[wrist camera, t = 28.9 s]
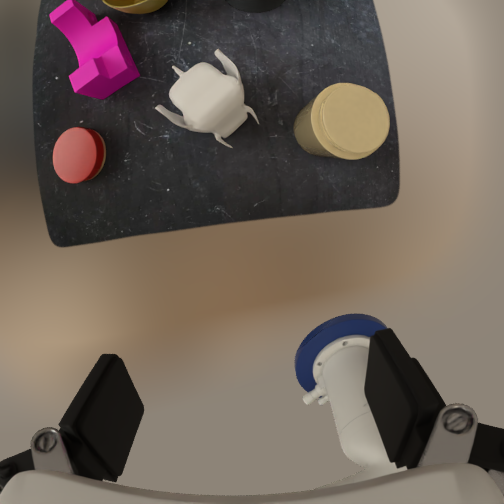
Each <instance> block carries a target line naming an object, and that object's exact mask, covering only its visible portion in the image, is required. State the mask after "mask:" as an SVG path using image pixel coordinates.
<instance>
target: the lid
mask: <svg viewBox="0 0 504 504" xmlns="http://www.w3.org/2000/svg"><path fill="white" fill-rule="evenodd" d="M103 159H104V146H103V142H102V140H101V138H100V136H99V135H98V134H97V133H96V132H95V131H94V130H92V129H89V128H84V127H75V128H71V129H68V130H67V131H65V132H64V133H63V134H62V135H61V136H60V137H59V138H58V140H57V142H56V144H55V147H54V151H53V164H54V168H55V171H56V173H57V174H58V176H59V177H60V178H61V179H62V180H64V181H65V182H68V183H79V182H83V181H87V180H89V179H91V178H92V177H94V176H95V175H96V174H97V172H98V171H99V170H100V168H101V166H102V163H103Z"/></svg>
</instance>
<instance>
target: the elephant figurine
mask: <svg viewBox="0 0 504 504" xmlns="http://www.w3.org/2000/svg"><path fill="white" fill-rule="evenodd" d="M215 55H216V57H217V58H218V59H219V60H220V61H221V62H222V64H223V66H224V69H225V71H226V73H227V75H224V74H222V73H221V72H220V71H219V70H217V69H216V68H215V67H213V66H212V65H210V64H208V63H205V62H202V63H198V64H196V65H195V66H193V67H192V68H191V69H189V70H188V71H187V72H182V71H181V70H180V69H178V68H176V67H175V66H172V68H173V69H174V70H175V72H176V73H177V74H178V75H179V76H180V78H179V80H178V81H177V82H176V83H175V84H174V85H173V86H172V88H171V89H170V92H169V97H170V99H171V101H172V102H173V104H174V105H175V106H176V107H177V108H179V109H180V110H181V111H182V113H183V117H182V116H180V115H177V114H175V113H173V112H170V111H168V110H167V109H166V108H164V107H163V106H162V105H158V106H156V107H155V109H156V110H158V111H159V112H161V113H162V114H163V115H165V116H166V117H167V118H168V119H169V120H170V121H171V122H173V123H174V124H176V125H178V126H180V127H183V128H187V129H189V130H191V131H195V132H205V133H208V132H212V133H213V134H214V135H215V138H216V139H217V140H218V141H219V142H221V143H222V144H224V145H226V146H228V147H231V146H230V145H229V144H227V143H226V142H224V141H223V140H222V139H221V136H222V137H223V138H226V137H228V136H229V135H231V134H232V133H233V132H234V131H235V130H236V129H237V128H238V127H239V126H240V125H241V124H242V123H244V121H245V120H246V119H247V117H248V115H247V112H249V113H251V114H252V115H253V117H254V118H255V119H256V121H257V123H258V124H259V122H258V119H257V117H256V115H255V113H254V111H253V110H252V108H250V107H248V106H245V104H244V88H243V84H242V82H241V78H240V74H239V72H238V69H237V68H236V66H235V65H234V63H233V62H232V61H231V60H229V59H228V58H227V57H226V56H225V55H224V54H223V53H222V52H221V51H220V50H219V49H217V50H216V51H215ZM231 148H232V147H231Z"/></svg>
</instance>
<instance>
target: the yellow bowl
mask: <svg viewBox="0 0 504 504" xmlns="http://www.w3.org/2000/svg"><path fill="white" fill-rule="evenodd" d="M102 1H103V2H104V3H105V4H107V5H108V6H110V7H112V8H114V9H116V10H119V11H122V12H126V13H133V14H144V13H150V12H153V11H156V10H158V9H160V8H161V7H162V6H163V5H165V4H166V2H167V1H168V0H102Z"/></svg>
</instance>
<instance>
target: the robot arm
mask: <svg viewBox="0 0 504 504" xmlns="http://www.w3.org/2000/svg"><path fill="white" fill-rule="evenodd" d="M313 376H314V379H315V381H316V383H317V385H316V386H315V389H314V390H312V391H310V392H308V393H307V394H306V395H304V396H303V397H302V398H303V401H304V402H305V403H306V404H307V405H309V404H310V403H312V402H313V401H315V400H316V399H317V398H318V397H320V396H322V397H321V398H320V399H318V403H319V404H320V405H323V404H325V403H326V402H328V400H329V401H330V405H331V408H332V412H333V416H334V420H335V424H336V428H337V432H338V436H339V440H340V444H341V447H342V450H343V452H344V453H345V455H346V456H347V457H348V458H349V459H350V460H351V461H353V462H355V463H356V464H358V465H360V466H363V467H365V468H366V469H364V470H363V471H361V472H358V473H356V474H355V475H352V476H350V477H347V478H345V479H342V480H339V481H336V482H333V483H331V484H328V485H325V486H322V487H319V488H316V489H314V490H310V491H301V492H292V493H283V494H268V495H249V496H248V495H246V496H214V495H193V494H180V493H170V492H160V491H153V490H146V489H140V488H134V487H128V486H122V485H118V484H113V483H108V482H103V481H102V480H103V479H104V480H108V481H112V482H116V481H117V478H118V476H121V475H122V473H123V470H124V467H125V464H126V461H127V458H128V455H129V452H130V449H131V447H132V444H133V441H134V438H135V435H136V432H137V430H138V427H139V424H140V421H141V419H142V416H143V413H144V405H143V403H142V401H141V399H140V397H139V395H138V393H137V391H136V389H135V387H134V385H133V382H132V380H131V378H130V376H129V374H128V371H127V369H126V367H125V365H124V362H123V360H122V359H121V358H119V357H118V356H117V355H116V354H102V355H101V356H100V358H99V360H98V361H97V363H96V364H95V366H94V367H93V369H92V370H91V372H90V374H89V375H88V377H87V378H86V380H85V381H84V383H83V385H82V386H81V388H80V389H79V391H78V393H77V394H76V396H75V398H74V399H73V401H72V403H71V404H70V406H69V408H68V409H67V411H66V413H65V414H64V416H63V418H62V419H61V421H60V423H59V426H60V427H61V428H60V430H59V431H58V430H57V429H55V428H52V427H51V428H50V427H47V428H43V429H41V430H39V431H38V432H37V433H35V435H34V436H33V437H32V440H31V449H29V450H27V451H25V452H22V453H19V454H17V455H15V456H12V457H9V458H7V459H5V460H3V461H1V462H0V504H504V429H502V428H497V427H493V426H489V425H485V424H481V423H478V418H477V415H476V413H475V411H474V410H473V409H472V408H470V407H469V406H467V405H464V404H459V403H458V404H457V403H455V404H450V405H448V406H446V404H445V403H444V401H443V399H442V398H441V396H440V394H439V393H438V391H437V390H436V388H435V387H434V385H433V384H432V382H431V380H430V379H429V377H428V376H427V374H426V373H425V371H424V370H423V368H422V367H421V365H420V363H419V362H418V361H417V359H415V358H411V357H410V356H409V354H408V353H407V351H406V350H405V348H404V347H403V345H402V344H401V342H400V341H399V339H398V338H397V337H396V335H395V333H394V332H393V330H392V329H391V328H388V329H383V330H378V331H375V333H374V335H372V336H371V337H367V336H364V335H349V336H344V337H342V338H339V339H336V340H335V341H333V342H331V343H329V344H328V345H327V346H325V347H324V348H323V349H322V350H321V351H320V352H319V354H318V355H317V357H316V359H315V361H314V364H313Z"/></svg>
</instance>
